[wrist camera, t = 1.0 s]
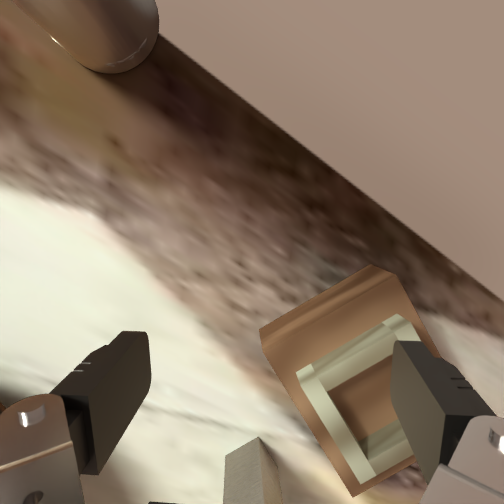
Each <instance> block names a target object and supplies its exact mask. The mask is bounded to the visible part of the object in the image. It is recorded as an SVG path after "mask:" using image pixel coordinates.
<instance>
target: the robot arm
mask: <svg viewBox="0 0 504 504" xmlns="http://www.w3.org/2000/svg"><path fill="white" fill-rule="evenodd" d="M12 1H13V2H14V3H15V4H16V5H17V6H18V7H19V8H20V9H21V10H22V11H24V12H25V13H26V14H27V15H28V16H29V17H30V18H31V19H32V20H33V21H34V22H35V23H36V24H38V25H39V26H40V27H41V28H42V29H43V30H44V31H45V32H46V33H47V34H48V35H49V36H50V37H51V38H52V39H53V40H55V41H56V42H57V43H58V44H59V45H60V46H61V47H62V48H63V49H64V50H65V51H66V52H68V53H69V54H70V55H71V56H72V57H73V58H74V59H75V60H76V61H78V62H79V63H80V64H82V65H83V66H85V67H87V68H89V69H91V70H93V71H97V72H101V73H120V72H125V71H128V70H130V69H132V68H134V67H136V66H137V65H139V64H140V63H141V62H142V61H144V60H145V58H146V57H147V56H148V55H149V54H150V52H151V51H152V49H153V47H154V45H155V43H156V39H157V36H158V32H159V15H158V9H157V6H156V3H155V0H12ZM150 384H151V364H150V352H149V340H148V335H147V333H146V332H140V331H122V332H121V333H120V334H119V335H118V336H117V337H116V338H115V339H114V340H113V341H112V342H111V343H110V344H109V345H104V346H103V347H101V348H99V349H97V350H95V351H93V352H92V353H90V354H89V355H88V356H87V357H86V358H85V359H84V360H83V361H82V363H81V364H79V365H78V366H77V367H76V368H75V369H74V371H73V372H71V373H70V374H69V375H68V376H67V377H65V378H64V379H63V380H62V381H61V382H60V383H59V384H58V385H57V386H56V387H55V388H54V389H53V390H52V391H51V392H50V393H49V394H40V395H35V396H31V397H28V398H25V399H22V400H20V401H18V402H16V403H14V404H13V405H11V406H10V407H8V408H7V409H6V410H5V411H3V412H2V414H1V415H0V504H85V503H84V498H83V493H82V488H81V483H80V478H79V476H80V475H81V474H88V475H99V473H100V472H101V470H102V468H103V467H104V465H105V463H106V462H107V460H108V458H109V457H110V455H111V453H112V452H113V450H114V448H115V447H116V445H117V444H118V442H119V440H120V439H121V437H122V435H123V434H124V432H125V430H126V429H127V427H128V425H129V424H130V422H131V420H132V419H133V417H134V415H135V414H136V412H137V410H138V409H139V407H140V405H141V404H142V402H143V400H144V399H145V397H146V395H147V394H148V391H149V388H150ZM390 396H391V402H392V405H393V408H394V410H395V412H396V415H397V417H398V419H399V421H400V424H401V426H402V428H403V431H404V433H405V435H406V437H407V440H408V442H409V444H410V446H411V449H412V451H413V453H414V455H415V458H416V460H417V462H418V465H419V467H420V469H421V471H422V474H423V476H424V478H425V480H426V483H427V485H428V487H427V489H426V491H425V493H424V495H423V497H422V499H421V500H420V502H419V504H504V418H500V417H497V416H496V415H495V413H494V412H493V411H492V410H491V409H490V407H489V406H488V405H487V404H486V403H485V401H484V400H483V399H482V398H481V397H480V395H479V394H478V393H477V392H476V391H475V390H473V387H472V386H471V385H470V383H469V382H468V381H467V380H465V377H464V376H463V375H462V374H461V373H460V371H459V370H458V369H457V368H456V367H455V366H453V365H452V364H450V363H448V362H447V361H445V360H444V359H442V358H434V356H433V355H432V354H431V352H430V351H429V350H428V348H427V347H426V346H425V344H424V343H423V342H422V341H403V340H396V341H395V343H394V347H393V357H392V368H391V379H390ZM148 504H175V503H162V502H149V503H148Z"/></svg>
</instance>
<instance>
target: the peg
mask: <svg viewBox="0 0 504 504" xmlns="http://www.w3.org/2000/svg"><path fill="white" fill-rule="evenodd" d="M223 504H283V501H282V494H281V488H280V481H279V475H278V468H277V465H276V464H275V462H274V461H273V459H272V458H271V456H270V455H269V453H268V451H267V450H266V448H265V447H264V445H263V444H262V442H261V441H260V439H259V437H257V438H255V439H254V440H252V441H250V442H248V443H247V444H245V445H243V446H242V447H240V448H238V449H236V450H235V451H233V452H231V453H229V454H228V455H226V457H225V477H224V496H223Z"/></svg>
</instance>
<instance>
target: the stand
mask: <svg viewBox="0 0 504 504" xmlns="http://www.w3.org/2000/svg"><path fill="white" fill-rule="evenodd" d="M259 332H260V338H261V344H262V349H263V353H264V355H265V356H266V358H267V360H268V361H269V363H270V365H271V366H272V368H273V369H274V371H275V373H276V374H277V376H278V377H279V379H280V381H281V382H282V384H283V386H284V387H285V389H286V390H287V392H288V394H289V395H290V397H291V399H292V400H293V402H294V403H295V405H296V407H297V408H298V410H299V411H300V413H301V415H302V416H303V418H304V420H305V421H306V423H307V424H308V426H309V428H310V429H311V431H312V433H313V434H314V436H315V437H316V439H317V441H318V442H319V444H320V445H321V447H322V449H323V450H324V452H325V454H326V455H327V457H328V458H329V460H330V462H331V463H332V465H333V467H334V468H335V470H336V471H337V473H338V475H339V476H340V478H341V479H342V481H343V483H344V484H345V486H346V488H347V489H348V491H349V492H350V494H351V496H352V497H355V496H357V495H358V494H360V493H362V492H364V491H366V490H367V489H369V488H371V487H373V486H374V485H376V484H378V483H380V482H381V481H383V480H385V479H387V478H388V477H390V476H392V475H394V474H395V473H397V472H399V471H401V470H402V469H404V468H406V467H408V466H409V465H411V464H413V463H415V462H416V461H417V460H416V458H415V455H414V453H413V451H412V449H411V446H410V444H409V442H408V440H407V437H406V435H405V433H404V431H403V428H402V426H401V424H400V421H399V419H398V417H397V415H396V412H395V410H394V408H393V405H392V402H391V396H390V379H391V368H392V357H393V347H394V343H395V341H396V340H403V341H422V342H423V343H424V344H425V346H426V347H427V348H428V350H429V351H430V352H431V354H432V355H433V356H434V358H441V356H440V354H439V352H438V351H437V349H436V347H435V345H434V343H433V341H432V340H431V338H430V336H429V334H428V332H427V330H426V329H425V327H424V325H423V323H422V321H421V320H420V318H419V316H418V314H417V312H416V310H415V309H414V307H413V305H412V303H411V301H410V299H409V298H408V296H407V294H406V292H405V290H404V288H403V287H402V285H401V283H400V281H399V279H398V278H397V276H396V275H395V274H393V273H391V272H388V271H386V270H383V269H381V268H378V267H376V266H373V265H371V264H370V265H368V266H366V267H365V268H363V269H361V270H360V271H358V272H356V273H354V274H353V275H351V276H349V277H348V278H346V279H344V280H342V281H341V282H339V283H337V284H336V285H334V286H332V287H331V288H329V289H327V290H325V291H324V292H322V293H320V294H319V295H317V296H315V297H314V298H312V299H310V300H308V301H307V302H305V303H303V304H302V305H300V306H298V307H297V308H295V309H293V310H291V311H290V312H288V313H286V314H285V315H283V316H281V317H279V318H278V319H276V320H274V321H273V322H271V323H269V324H268V325H266V326H264V327H262V328H261V329H259Z"/></svg>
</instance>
